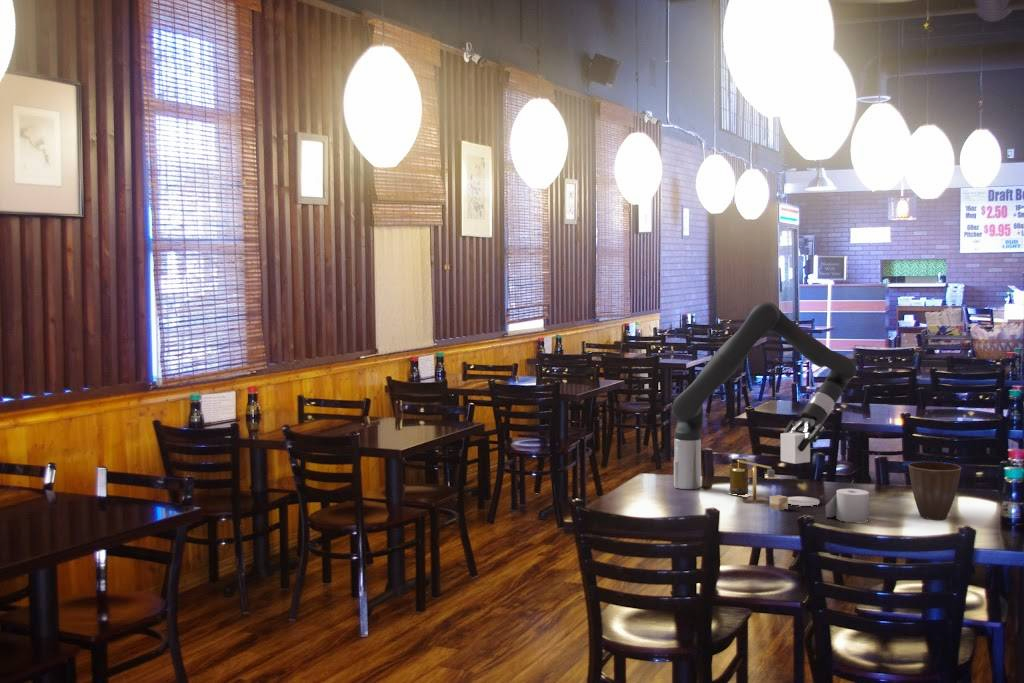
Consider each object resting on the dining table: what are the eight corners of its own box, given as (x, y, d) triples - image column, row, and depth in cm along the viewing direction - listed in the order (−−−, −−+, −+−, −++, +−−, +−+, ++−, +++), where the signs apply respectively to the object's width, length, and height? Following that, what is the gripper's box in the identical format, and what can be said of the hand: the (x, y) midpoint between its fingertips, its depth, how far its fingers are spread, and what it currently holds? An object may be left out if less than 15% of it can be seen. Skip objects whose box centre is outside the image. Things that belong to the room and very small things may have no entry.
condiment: (737, 491, 360) (737, 457, 359) (757, 495, 353) (757, 460, 352) (724, 494, 355) (724, 459, 354) (744, 498, 348) (744, 462, 348)
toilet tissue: (819, 517, 319) (819, 489, 318) (859, 515, 321) (859, 488, 321) (833, 524, 310) (833, 495, 309) (874, 522, 312) (874, 494, 312)
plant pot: (968, 517, 317) (969, 465, 316) (947, 525, 307) (948, 472, 306) (920, 509, 328) (921, 459, 327) (899, 517, 318) (899, 465, 317)
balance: (733, 502, 341) (733, 461, 340) (731, 499, 346) (731, 458, 345) (778, 503, 340) (778, 461, 339) (775, 499, 345) (775, 458, 344)
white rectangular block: (795, 463, 331) (795, 435, 331) (780, 461, 337) (780, 433, 337) (810, 461, 334) (809, 434, 334) (795, 459, 340) (795, 431, 340)
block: (778, 511, 329) (778, 498, 328) (769, 508, 332) (769, 496, 332) (787, 509, 331) (787, 497, 330) (778, 507, 334) (778, 494, 334)
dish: (787, 506, 334) (787, 502, 334) (781, 499, 345) (781, 495, 345) (822, 506, 334) (822, 502, 333) (815, 499, 344) (815, 495, 344)
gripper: (796, 400, 345) (769, 438, 340) (828, 403, 332) (801, 443, 327) (807, 414, 348) (781, 453, 342) (840, 419, 335) (814, 458, 330)
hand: (791, 448), depth 335 cm, fingers closed on white rectangular block, 6 cm apart
